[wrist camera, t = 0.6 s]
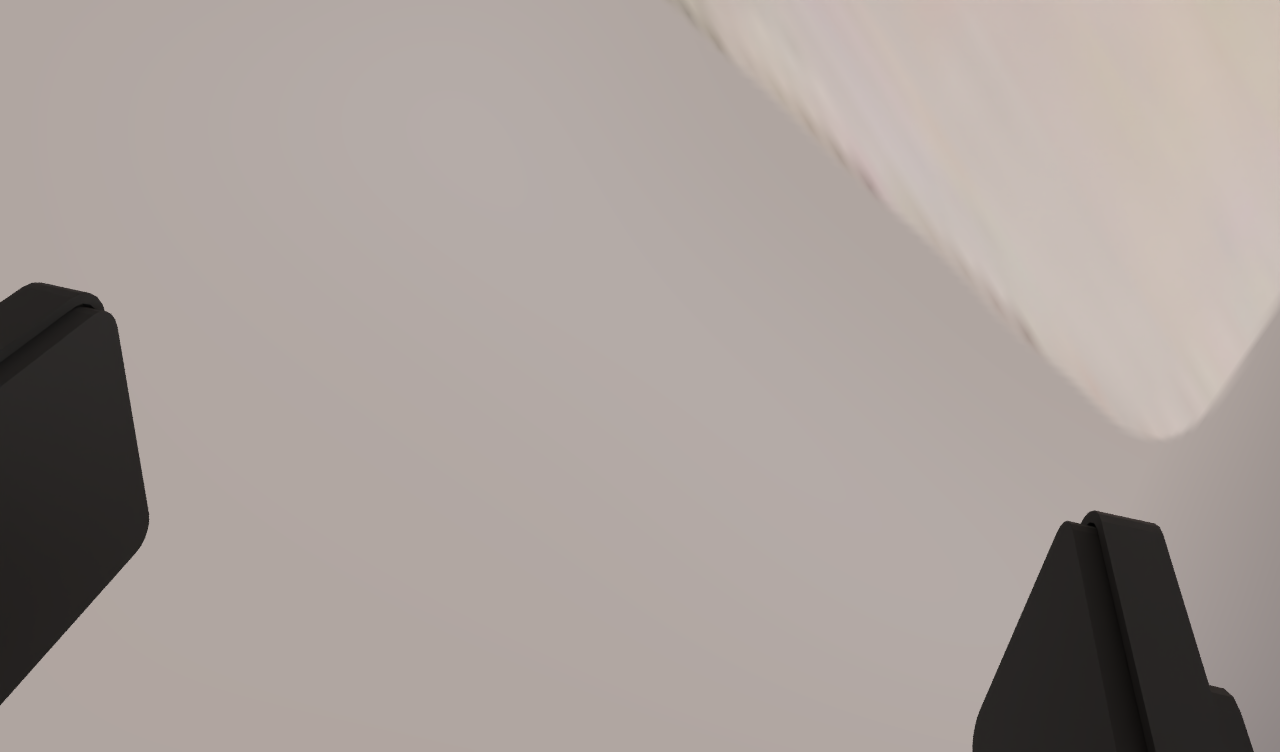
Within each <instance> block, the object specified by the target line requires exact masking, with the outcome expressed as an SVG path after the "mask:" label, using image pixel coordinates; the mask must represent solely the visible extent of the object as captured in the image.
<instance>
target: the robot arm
mask: <svg viewBox="0 0 1280 752" xmlns="http://www.w3.org/2000/svg"><path fill="white" fill-rule="evenodd" d="M148 525H149V512H148V506H147V500H146V494H145V488H144V482H143V476H142V470H141V464H140V458H139V453H138V447H137V440H136V435H135V429H134V423H133V417H132V411H131V405H130V399H129V393H128V387H127V381H126V375H125V369H124V363H123V357H122V351H121V346H120V340H119V334H118V327H117V324H116V321H115V319H114V317H113V316H112V315H111V314H110V313H108V312H106V311H104V307H103V305H102V303H101V302H100V300H99V299H98V298H97V297H96V296H94V295H92V294H90V293H87V292H82V291H78V290H73V289H68V288H64V287H59V286H55V285H50V284H45V283H31V284H28V285H26V286H24V287H22V288H21V289H20V290H18V291H16V292H15V293H13V294H12V295H10V296H9V297H8V298H6V299H5V300H3V301H2V302H0V705H1V704H2V703H3V702H4V700H5V699H6V698H7V697H8V696H9V695H10V694H11V693H12V691H13V690H14V689H15V688H16V687H17V686H18V685H19V684H20V682H21V681H22V680H23V679H24V678H25V677H26V676H27V674H28V673H29V672H30V671H31V670H32V669H33V668H34V667H35V666H36V664H37V663H38V662H39V661H40V660H41V659H42V658H43V656H44V655H45V654H46V653H47V652H48V651H49V650H50V649H51V648H52V646H53V645H54V644H55V643H56V642H57V641H58V640H59V639H60V637H61V636H62V635H63V634H64V633H65V632H66V631H67V630H68V628H69V627H70V626H71V625H72V624H73V623H74V622H75V621H76V619H77V618H78V617H79V616H80V615H81V614H82V613H83V612H84V610H85V609H86V608H87V607H88V606H89V605H90V604H91V603H92V601H93V600H94V599H95V598H96V597H97V596H98V595H99V594H100V592H101V591H102V590H103V589H104V588H105V587H106V586H107V585H108V583H109V582H110V581H111V580H112V579H113V578H114V577H115V576H116V574H117V573H118V572H119V571H120V570H121V569H122V568H123V566H124V565H125V564H126V563H127V562H128V561H129V560H130V559H131V558H132V556H133V555H134V554H135V553H136V552H137V551H138V549H139V548H140V546H141V545H142V543H143V541H144V539H145V536H146V533H147V530H148ZM973 752H1254V751H1253V748H1252V745H1251V742H1250V739H1249V736H1248V733H1247V730H1246V727H1245V724H1244V721H1243V718H1242V715H1241V712H1240V710H1239V708H1238V706H1237V704H1236V702H1235V699H1234V697H1233V696H1232V695H1230V694H1229V693H1228V692H1227V691H1226V690H1225V689H1224V688H1219V687H1215V686H1211V685H1209V683H1208V680H1207V677H1206V674H1205V670H1204V667H1203V664H1202V661H1201V657H1200V654H1199V651H1198V648H1197V644H1196V641H1195V638H1194V634H1193V631H1192V628H1191V624H1190V621H1189V618H1188V615H1187V611H1186V608H1185V605H1184V601H1183V598H1182V595H1181V592H1180V588H1179V585H1178V582H1177V578H1176V575H1175V572H1174V568H1173V565H1172V562H1171V559H1170V556H1169V552H1168V549H1167V545H1166V542H1165V539H1164V536H1163V533H1162V531H1161V529H1160V527H1159V526H1157V525H1156V524H1154V523H1150V522H1145V521H1140V520H1136V519H1131V518H1126V517H1122V516H1117V515H1113V514H1108V513H1103V512H1099V511H1091V512H1089V513H1088V514H1087V515H1086V516H1085V517H1084V519H1083V520H1082V523H1081V524H1079V523H1075V522H1070V521H1066V522H1064V523H1063V524H1062V525H1061V526H1060V528H1059V530H1058V532H1057V534H1056V536H1055V539H1054V541H1053V543H1052V545H1051V547H1050V550H1049V552H1048V554H1047V557H1046V559H1045V561H1044V564H1043V566H1042V568H1041V570H1040V573H1039V575H1038V577H1037V580H1036V582H1035V584H1034V587H1033V589H1032V591H1031V594H1030V596H1029V598H1028V600H1027V603H1026V605H1025V607H1024V610H1023V612H1022V614H1021V617H1020V619H1019V621H1018V624H1017V626H1016V628H1015V630H1014V633H1013V635H1012V638H1011V640H1010V642H1009V644H1008V647H1007V649H1006V651H1005V654H1004V656H1003V658H1002V660H1001V663H1000V665H999V668H998V670H997V672H996V674H995V677H994V679H993V681H992V684H991V686H990V688H989V691H988V693H987V695H986V697H985V700H984V702H983V704H982V707H981V709H980V711H979V714H978V717H977V720H976V725H975V730H974V736H973Z"/></svg>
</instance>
